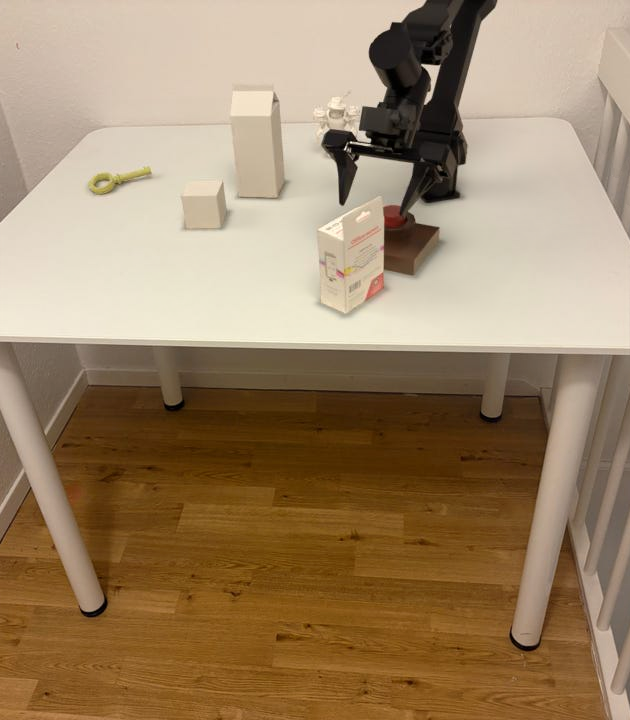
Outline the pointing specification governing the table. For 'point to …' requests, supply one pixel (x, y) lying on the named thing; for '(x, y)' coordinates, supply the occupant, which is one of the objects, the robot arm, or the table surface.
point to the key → (115, 179)
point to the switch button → (393, 215)
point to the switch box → (408, 245)
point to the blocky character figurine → (336, 115)
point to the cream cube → (204, 204)
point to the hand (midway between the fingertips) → (370, 210)
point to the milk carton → (257, 140)
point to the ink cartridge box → (352, 256)
